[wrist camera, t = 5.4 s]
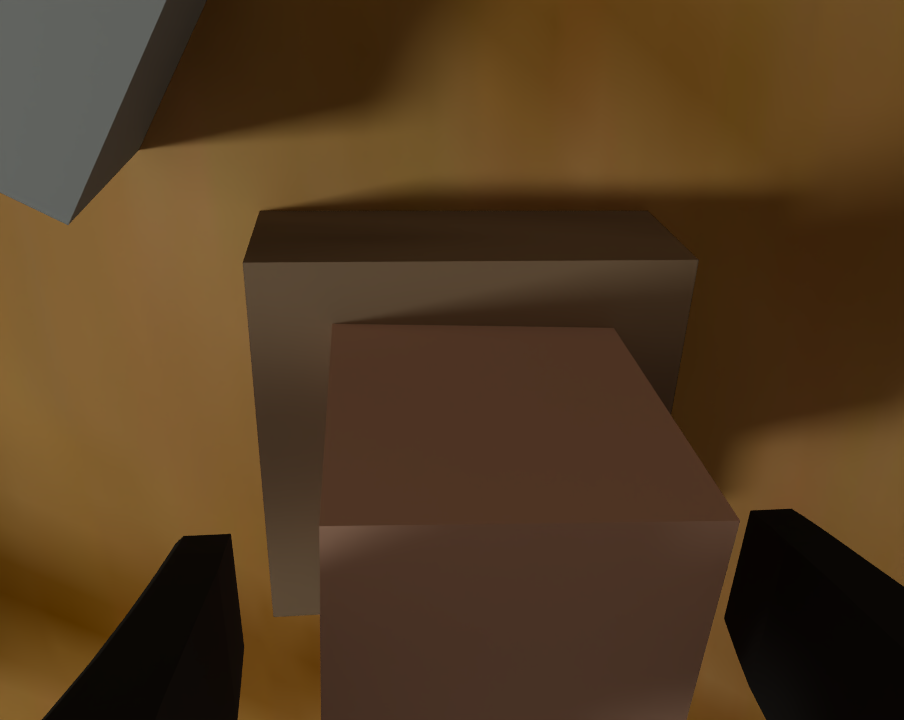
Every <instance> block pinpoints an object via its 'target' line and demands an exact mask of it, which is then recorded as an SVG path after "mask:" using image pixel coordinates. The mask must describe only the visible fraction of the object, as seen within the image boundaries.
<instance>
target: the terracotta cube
mask: <svg viewBox="0 0 904 720" xmlns="http://www.w3.org/2000/svg"><path fill="white" fill-rule="evenodd" d="M739 523H740V520H739V518H738V517H737V515H736V514H735V512H734V511H733V509H732V508H731V506H730V505H729V503H728V502H727V500H726V499H725V497H724V496H723V494H722V492H721V491H720V489H719V488H718V486H717V485H716V483H715V482H714V480H713V479H712V477H711V476H710V474H709V473H708V471H707V470H706V468H705V467H704V465H703V463H702V462H701V460H700V459H699V457H698V456H697V454H696V453H695V451H694V450H693V448H692V447H691V445H690V444H689V442H688V441H687V439H686V438H685V436H684V434H683V433H682V431H681V430H680V428H679V427H678V425H677V424H676V422H675V421H674V419H673V418H672V416H671V415H670V413H669V412H668V410H667V408H666V407H665V405H664V404H663V402H662V401H661V399H660V398H659V396H658V395H657V393H656V392H655V390H654V389H653V387H652V386H651V384H650V383H649V381H648V379H647V378H646V376H645V375H644V373H643V372H642V370H641V369H640V367H639V366H638V364H637V363H636V361H635V360H634V358H633V357H632V355H631V354H630V352H629V350H628V349H627V347H626V346H625V344H624V343H623V341H622V340H621V338H620V337H619V335H618V334H617V332H616V331H615V329H614V328H589V327H525V326H458V325H384V324H332V334H331V350H330V365H329V381H328V396H327V412H326V428H325V443H324V459H323V474H322V490H321V506H320V521H319V557H320V651H321V720H686V719H687V715H688V712H689V708H690V704H691V700H692V697H693V693H694V689H695V686H696V682H697V678H698V675H699V671H700V667H701V663H702V660H703V656H704V652H705V649H706V645H707V641H708V638H709V634H710V630H711V626H712V623H713V619H714V615H715V612H716V608H717V604H718V601H719V597H720V593H721V589H722V586H723V582H724V578H725V575H726V571H727V567H728V563H729V560H730V556H731V552H732V549H733V545H734V541H735V538H736V534H737V530H738V526H739Z"/></svg>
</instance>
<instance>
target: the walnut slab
mask: <svg viewBox="0 0 904 720" xmlns="http://www.w3.org/2000/svg"><path fill="white" fill-rule="evenodd" d="M698 261H699V260H698V259H697V258H696V257H695V256H694V255H693V254H692V253H691V252H690V251H689V250H688V249H687V248H686V247H685V246H684V245H683V244H682V243H681V242H680V241H679V240H677V239H676V238H675V237H674V236H673V235H672V234H671V233H670V232H669V231H668V230H667V229H666V228H665V227H664V226H663V225H662V224H661V223H660V222H659V221H658V220H657V219H656V218H655V217H654V216H653V215H651V214H650V213H649V212H648V211H260V212H259V215H258V218H257V221H256V224H255V227H254V230H253V233H252V236H251V239H250V242H249V245H248V248H247V251H246V255H245V258H244V261H243V270H244V282H245V293H246V305H247V316H248V328H249V339H250V351H251V362H252V374H253V385H254V397H255V408H256V420H257V431H258V443H259V455H260V466H261V478H262V489H263V501H264V512H265V524H266V535H267V547H268V558H269V570H270V581H271V593H272V604H273V616H274V617H279V616H299V615H318V614H320V557H319V521H320V506H321V490H322V474H323V459H324V443H325V428H326V412H327V396H328V381H329V365H330V350H331V334H332V324H384V325H458V326H525V327H589V328H614V329H615V331H616V332H617V334H618V335H619V337H620V338H621V340H622V341H623V343H624V344H625V346H626V347H627V349H628V350H629V352H630V354H631V355H632V357H633V358H634V360H635V361H636V363H637V364H638V366H639V367H640V369H641V370H642V372H643V373H644V375H645V376H646V378H647V379H648V381H649V383H650V384H651V386H652V387H653V389H654V390H655V392H656V393H657V395H658V396H659V398H660V399H661V401H662V402H663V404H664V405H665V407H666V408H667V410H668V412H669V413H670V415H671V412H672V406H673V401H674V395H675V389H676V384H677V378H678V373H679V367H680V362H681V356H682V350H683V345H684V339H685V334H686V328H687V322H688V317H689V311H690V306H691V300H692V295H693V289H694V283H695V278H696V272H697V267H698Z"/></svg>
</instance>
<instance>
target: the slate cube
mask: <svg viewBox="0 0 904 720" xmlns="http://www.w3.org/2000/svg"><path fill="white" fill-rule="evenodd" d="M206 1H207V0H0V193H2V194H4V195H6V196H9V197H11V198H13V199H15V200H17V201H19V202H21V203H23V204H25V205H27V206H29V207H31V208H34V209H36V210H38V211H40V212H42V213H44V214H46V215H48V216H50V217H52V218H54V219H57V220H59V221H61V222H63V223H65V224H67V225H69V224H70V223H71V222H72V220H73V219H74V218H75V217H76V216H77V215H78V214H79V213H80V212H81V211H82V210H83V209H84V208H85V207H86V206H87V205H88V203H89V202H90V201H91V200H92V199H93V198H94V197H95V196H96V195H97V194H98V193H99V192H100V191H101V190H102V189H103V188H104V186H105V185H106V184H107V183H108V182H109V181H110V180H111V179H112V178H113V177H114V176H115V175H116V174H117V173H118V172H119V171H120V169H121V168H122V167H123V166H124V165H125V164H126V163H127V162H128V161H129V160H130V159H131V158H132V157H133V156H134V155H135V153H136V152H137V151H138V150H139V148H140V146H141V144H142V142H143V140H144V137H145V135H146V133H147V131H148V129H149V126H150V124H151V122H152V120H153V118H154V115H155V113H156V111H157V109H158V106H159V104H160V102H161V100H162V98H163V95H164V93H165V91H166V89H167V87H168V84H169V82H170V80H171V78H172V76H173V73H174V71H175V69H176V67H177V65H178V62H179V60H180V58H181V56H182V54H183V51H184V49H185V47H186V45H187V43H188V40H189V38H190V36H191V34H192V32H193V29H194V27H195V25H196V23H197V21H198V18H199V16H200V14H201V12H202V10H203V7H204V5H205V3H206Z"/></svg>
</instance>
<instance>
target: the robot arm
mask: <svg viewBox="0 0 904 720" xmlns="http://www.w3.org/2000/svg"><path fill="white" fill-rule="evenodd" d="M724 619H725V622H726V625H727V628H728V631H729V634H730V637H731V639H732V642H733V645H734V648H735V651H736V654H737V656H738V659H739V661H740V664H741V667H742V669H743V672H744V674H745V677H746V679H747V682H748V685H749V687H750V689H751V691H752V693H753V695H754V697H755V699H756V701H757V703H758V705H759V707H760V709H761V710H762V712H763V714H764V716H765V718H766V720H904V586H902V585H901V584H899V583H898V582H896V581H895V580H894V579H892V578H891V577H889V576H888V575H886V574H885V573H884V572H882V571H881V570H879V569H878V568H877V567H875V566H874V565H872V564H871V563H870V562H868V561H867V560H865V559H864V558H863V557H861V556H860V555H858V554H857V553H856V552H854V551H853V550H851V549H850V548H849V547H847V546H846V545H844V544H843V543H842V542H840V541H839V540H837V539H836V538H834V537H833V536H832V535H830V534H829V533H827V532H826V531H824V530H823V529H822V528H820V527H819V526H817V525H816V524H814V523H813V522H811V521H810V520H808V519H807V518H805V517H804V516H802V515H801V514H799V513H797V512H796V511H794V510H793V509H776V510H753V511H750V515H749V519H748V523H747V527H746V531H745V535H744V539H743V543H742V547H741V551H740V555H739V560H738V564H737V568H736V572H735V576H734V580H733V584H732V588H731V592H730V596H729V600H728V604H727V609H726V613H725V617H724ZM243 654H244V642H243V633H242V625H241V616H240V608H239V599H238V591H237V582H236V574H235V565H234V557H233V548H232V540H231V534H219V535H197V536H183V537H182V538H181V539H180V540H179V541H178V542H177V543H176V544H175V545H174V547H173V549H172V550H171V552H170V553H169V555H168V556H167V558H166V559H165V561H164V562H163V564H162V565H161V567H160V568H159V570H158V571H157V573H156V574H155V576H154V577H153V579H152V580H151V582H150V583H149V584H148V586H147V587H146V589H145V590H144V592H143V593H142V594H141V596H140V597H139V598H138V600H137V601H136V603H135V604H134V605H133V607H132V608H131V610H130V611H129V612H128V614H127V615H126V616H125V618H124V619H123V620H122V622H121V623H120V624H119V626H118V627H117V628H116V630H115V631H114V632H113V633H112V635H111V636H110V637H109V639H108V640H107V641H106V643H105V644H104V645H103V647H102V648H101V649H100V650H99V652H98V653H97V654H96V656H95V657H94V658H93V659H92V661H91V662H90V663H89V665H88V666H87V667H86V668H85V669H84V671H83V672H82V673H81V674H80V675H79V677H78V678H77V679H76V680H75V681H74V682H73V684H72V685H71V686H70V687H69V688H68V690H67V691H66V692H65V693H64V694H63V695H62V697H61V698H60V699H59V700H58V701H57V702H56V704H55V705H54V706H53V707H52V708H51V710H50V711H49V712H48V713H47V714H46V715H45V717H44V718H43V719H42V720H237V719H238V708H239V698H240V688H241V677H242V665H243Z"/></svg>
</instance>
